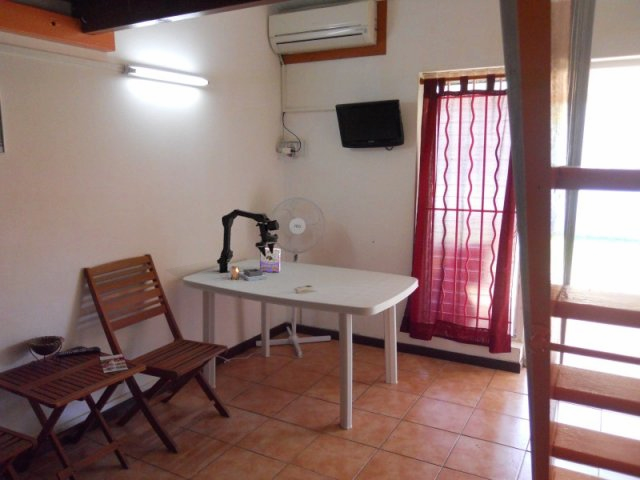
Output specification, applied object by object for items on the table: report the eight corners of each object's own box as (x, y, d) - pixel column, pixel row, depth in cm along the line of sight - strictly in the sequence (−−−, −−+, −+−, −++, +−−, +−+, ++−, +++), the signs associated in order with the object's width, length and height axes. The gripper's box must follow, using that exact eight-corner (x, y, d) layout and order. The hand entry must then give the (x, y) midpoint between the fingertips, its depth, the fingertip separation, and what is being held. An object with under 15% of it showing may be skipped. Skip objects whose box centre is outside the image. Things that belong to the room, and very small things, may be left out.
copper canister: (229, 278, 327) (230, 266, 326) (236, 277, 330) (237, 265, 328) (233, 280, 323) (233, 268, 322) (240, 279, 326) (240, 267, 324)
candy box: (280, 271, 354) (281, 248, 352) (278, 272, 349) (279, 249, 346) (261, 269, 356) (261, 247, 353) (259, 271, 350) (260, 248, 347)
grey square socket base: (237, 275, 336) (237, 268, 335) (254, 273, 344) (254, 266, 343) (248, 280, 323) (248, 273, 322) (266, 278, 330) (266, 271, 329)
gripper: (267, 232, 319) (271, 256, 320) (281, 228, 336) (285, 251, 337) (252, 234, 324) (257, 258, 325) (267, 230, 341) (271, 253, 342)
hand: (268, 255), depth 332 cm, fingers open, 9 cm apart
